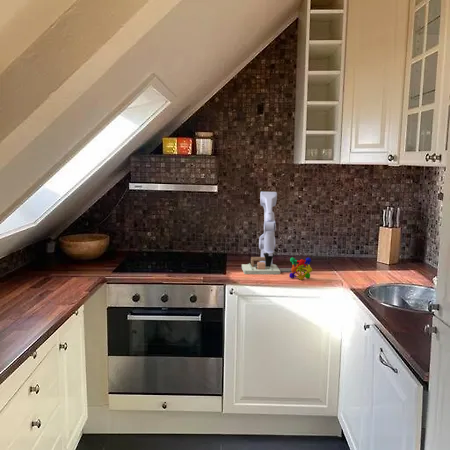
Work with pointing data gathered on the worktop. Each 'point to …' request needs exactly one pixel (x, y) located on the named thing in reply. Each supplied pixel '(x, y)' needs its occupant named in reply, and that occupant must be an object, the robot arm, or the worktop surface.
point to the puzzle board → (253, 270)
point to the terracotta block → (261, 265)
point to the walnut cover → (257, 260)
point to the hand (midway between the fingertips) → (268, 266)
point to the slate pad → (285, 269)
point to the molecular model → (300, 268)
